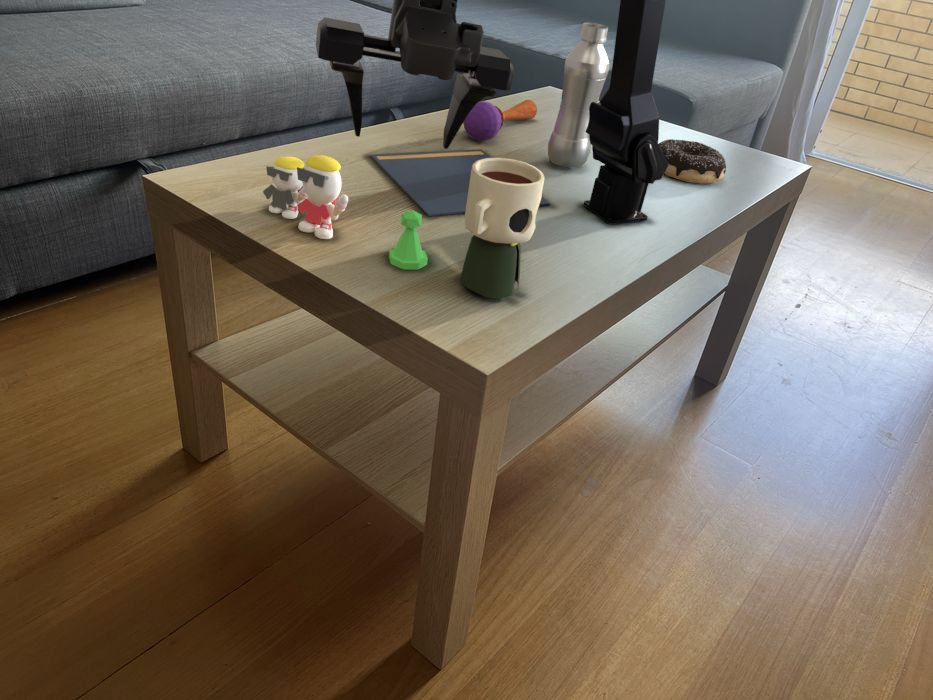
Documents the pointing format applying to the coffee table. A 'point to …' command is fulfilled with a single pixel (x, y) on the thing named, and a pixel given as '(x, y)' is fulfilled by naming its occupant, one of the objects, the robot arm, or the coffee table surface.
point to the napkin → (434, 178)
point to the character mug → (499, 223)
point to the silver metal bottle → (579, 97)
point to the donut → (693, 161)
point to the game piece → (409, 244)
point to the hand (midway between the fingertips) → (401, 141)
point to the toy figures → (307, 192)
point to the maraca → (495, 118)
